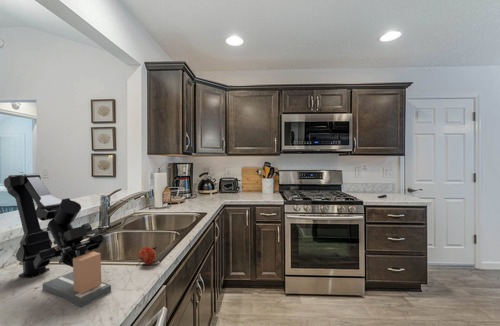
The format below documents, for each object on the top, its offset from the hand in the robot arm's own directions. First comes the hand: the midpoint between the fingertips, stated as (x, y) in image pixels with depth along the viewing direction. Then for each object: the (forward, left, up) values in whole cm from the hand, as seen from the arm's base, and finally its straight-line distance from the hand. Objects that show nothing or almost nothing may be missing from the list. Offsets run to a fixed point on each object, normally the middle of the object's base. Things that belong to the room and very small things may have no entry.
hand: (83, 271), depth 75 cm
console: (-4, +1, -7) cm, 8 cm away
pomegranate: (+7, +22, -7) cm, 24 cm away
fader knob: (+2, -1, -5) cm, 5 cm away
